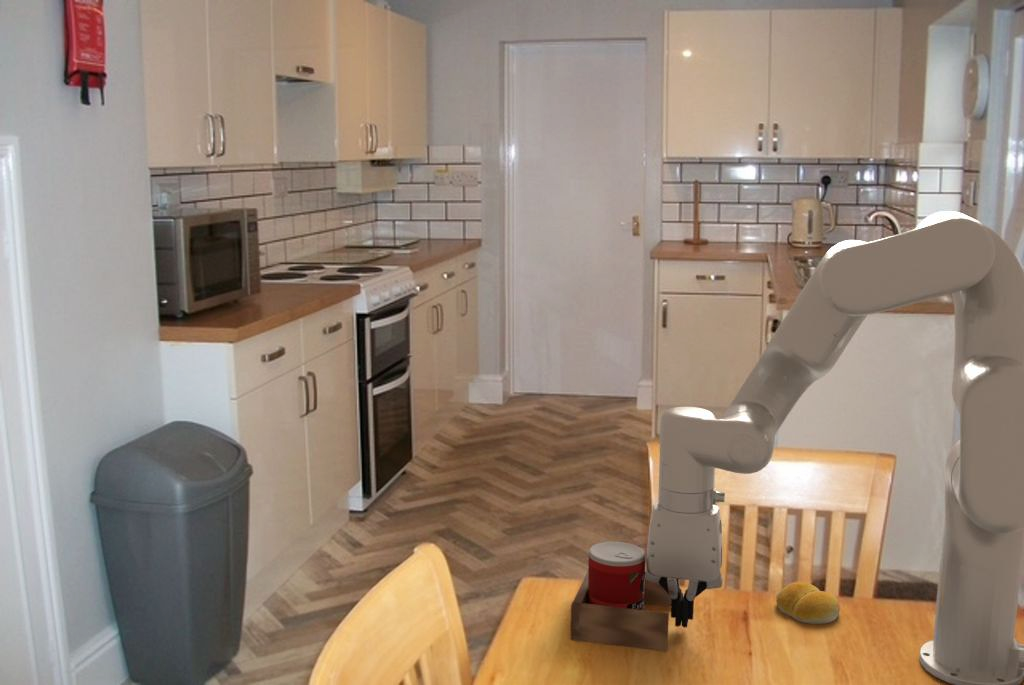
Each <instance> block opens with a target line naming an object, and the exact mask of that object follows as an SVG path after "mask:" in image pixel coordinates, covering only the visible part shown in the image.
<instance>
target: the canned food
mask: <svg viewBox="0 0 1024 685" xmlns="http://www.w3.org/2000/svg"><path fill="white" fill-rule="evenodd" d="M588 550H589V552H588V566H587V567H588V569H587V572H588V604H593V605H602V606H611V607H619V608H628V609H637V610H644V609H645V603H644V585H645V578H644V576H645V569H646V553H645V550H644V549H643V548H642V547H641V546H640V547H639V546H638V545H636V544H633V543H628V542H625V541H624V542H623V541H603V542H599V543H596V544H594V545H592V546H591V547H590V548H589V549H588Z"/></svg>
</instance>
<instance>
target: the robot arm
mask: <svg viewBox="0 0 1024 685" xmlns="http://www.w3.org/2000/svg"><path fill="white" fill-rule="evenodd" d="M947 295H951V297H952V301H953V307H954V308H953V309H954V332H955V333H954V354H953V357H954V358H953V361H954V362H953V374H952V385H951V395H952V400H953V402H954V405H955V408H956V410H957V411H958V413H959V440H958V441H957V442H955V444H954V445H953V446H952V447H951V449H950V451H949V453H948V455H947V458H946V461H945V466H944V475H943V476H944V478H943V523H942V535H941V545H940V547H941V548H940V555H939V556H940V557H939V558H940V559H939V567H938V568H939V569H938V581H937V590H936V592H937V593H936V605H935V613H934V614H935V615H934V616H935V617H934V629H933V639H931V640H930V641H927V642H925V643H924V644H923V645H921V647H920V649H919V655H918V658H919V662H920V664H921V666H922V667H923V668H924V669H925V671H927V672H928V673H929V674H931V675H932V676H934V677H936V678H938V680H941V681H943V682H945V683H948V684H951V685H1020V684H1021V683H1023V681H1024V643H1019V641H1017V640H1016V638H1015V632H1016V622H1017V612H1018V604H1019V593H1020V581H1021V573H1022V572H1021V571H1022V563H1023V556H1024V270H1023V268H1022V266H1021V263H1020V262H1019V259H1018V258H1017V256H1016V255H1015V253H1014V251H1013V250H1012V249H1011V247H1009V245H1008V243H1006V241H1005V240H1004V239H1003V238H1002V237H1001V236H1000V235H999V234H998V233H997V232H995V231H994V230H992V229H991V228H990V227H988V226H987V225H985V224H984V223H982V222H980V221H979V220H976V219H975V218H973V217H971V216H968V215H966V214H964V213H962V212H958V211H953V210H949V211H947V210H944V211H938V212H935V213H933V214H930V215H929V216H927V217H925V218H924V219H923V220H922V221H920V223H919V224H918V225H917V226H916V227H915V228H914V229H911V230H909V231H905V232H902V233H897V234H894V235H892V236H887V237H885V238H881V239H880V238H879V239H876V240H873V241H869V242H866V241H863V240H857V239H848V240H843V241H841V242H838V243H837V244H835V245H834V246H831V248H829V249H828V251H827V252H826V253H825V255H824V256H822V258H821V260H820V261H819V263H818V265H817V266H816V267H815V269H814V271H813V273H812V274H811V275H810V277H809V279H808V280H807V282H806V284H805V285H804V287H803V288H802V290H801V291H800V292H799V295H798V296H797V298H796V299H795V301H794V302H793V304H792V305H791V307H790V309H789V310H788V311H787V314H786V315H784V316H785V317H784V318H783V319H782V321H781V322H780V324H779V326H778V327H777V329H776V330H775V332H774V333H773V335H772V337H771V338H770V340H769V341H768V343H767V345H766V346H765V349H764V351H763V353H762V354H761V356H760V358H759V359H758V361H757V362H756V364H755V365H754V367H753V368H752V370H751V371H750V373H749V375H748V376H747V377H746V379H745V381H744V382H743V384H742V386H740V388H739V390H738V392H737V393H736V395H735V396H734V398H733V400H732V401H731V403H730V404H729V405H728V406H727V407H728V408H727V409H726V410H725V412H724V414H723V416H722V418H716V416H715V414H714V413H712V412H711V411H710V410H708V409H705V408H701V407H697V406H696V407H695V406H675V407H671V408H669V409H667V410H666V411H663V413H662V415H661V418H660V424H659V425H660V431H659V456H658V458H659V460H658V461H659V467H658V491H657V493H658V496H657V498H658V499H657V500H655V501H654V502H653V505H652V509H651V514H650V519H649V526H648V527H649V528H648V535H647V543H646V544H647V545H646V546H647V547H646V560H645V566H646V568H645V569H646V573H645V576H644V578H645V579H646V580H648V581H650V582H653V583H656V584H657V583H658V584H660V585H661V586H662V587H663V588H664V590H665V591H666V592H667V593H668V594H669V597H670V598H671V606H670V617H671V618H674V621H675V624H674V627H683V628H688V623H689V620H692V621H693V620H694V613H695V612H694V611H695V608H694V606H695V599H696V598H697V597H698V596H699V595H701V594H702V593H703V592H704V591H705V590H707V589H708V590H712V589H713V590H714V589H720V588H722V587H723V582H724V581H723V575H722V572H721V569H722V565H723V526H722V517H721V512H720V506H718V505H716V504H719V503H725V501H726V500H725V499H726V498H725V497H726V493H725V492H720V491H719V490H717V488H716V484H715V483H716V482H715V481H716V480H715V478H716V477H715V476H716V469H718V470H723V471H726V472H730V473H734V474H739V475H740V474H742V475H750V474H755V473H758V472H760V471H762V470H763V469H764V468H766V467H767V466H768V464H769V463H770V461H771V459H772V458H773V454H774V448H775V441H776V440H775V439H776V435H777V434H778V431H779V430H780V428H781V427H782V426H783V424H784V422H785V421H786V419H787V418H788V416H789V414H790V413H791V412H792V410H793V408H794V407H795V406H796V404H797V402H798V401H799V400H800V398H801V397H802V396H803V395H804V393H805V392H806V391H807V390H808V389H809V387H810V386H812V385H813V384H814V383H815V382H817V381H819V380H820V379H822V378H824V377H825V376H826V375H828V373H829V372H830V371H831V370H832V369H833V368H834V366H835V365H836V363H837V362H838V360H839V359H840V357H841V355H842V354H843V353H844V351H845V349H846V348H847V346H848V345H849V343H850V341H851V340H852V339H853V337H854V335H855V334H856V332H857V331H858V329H859V328H860V327H861V325H862V324H863V322H864V321H865V319H866V318H867V316H869V315H874V314H879V313H884V312H887V311H891V310H894V309H900V308H903V307H907V306H910V305H915V304H918V303H922V302H924V301H928V300H933V299H937V298H940V297H944V296H947ZM680 580H687V581H688V586H687V588H686V589H685V591H684V593H683V591H682V589H681V587H680Z"/></svg>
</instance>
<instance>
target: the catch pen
mask: <svg viewBox="0 0 1024 685" xmlns="http://www.w3.org/2000/svg"><path fill="white" fill-rule="evenodd" d="M646 569H647V568H645V573H646ZM647 604H648V605H654V606H655V605H656V606H663V607H671V598H670V597H669V594H668V593H667V592H666V591H665V590H664V588H663V587H662V586H661V585H660V584H658V583H657V584H656V583H653V582H650V581H648V580H646V579H645V585H644V605H647ZM669 614H670V613H669V612H662V611H653V610H637V609H628V608H619V607H611V606H602V605H593V604H588V571H587V572H586V574H585V576H584V578H583V580H582V582H581V585H580V587H578V590H577V593H576V595H575V597H574V599H573V601H572V603H571V606H570V640H572V641H576V642H577V641H578V642H579V641H580V642H585V643H586V642H587V643H594V644H603V645H611V646H619V647H620V646H621V647H626V648H627V647H629V648H635V649H643V650H653V651H659V652H668V647H669V646H668V644H669V643H668V642H669Z"/></svg>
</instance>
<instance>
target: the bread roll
mask: <svg viewBox="0 0 1024 685" xmlns="http://www.w3.org/2000/svg"><path fill="white" fill-rule="evenodd" d="M775 600H776V605H777V607H778V609H779V611H780V612H782V613H783V614H784V615H785V616H788V617H791V618H793V619H794V620H796V621H798V622H800V623H803V624H809V625H810V624H811V625H812V624H813V625H814V624H815V625H816V624H817V625H818V624H819V625H820V624H821V625H822V624H829V623H830V624H831V623H833V622H834V621H836V620H837V618H838V617H839V614H840V610H841V608H840V602H839V600H838V598H837V597H836V596H834V594H833V593H831V592H827V591H824V590H823V591H821V590H820V589H819V588H818V587H816V586H815V585H813V584H811V583H810V582H808V581H807V582H806V581H793V582H791V583H789V584H787V585H786V586H785V587H783V588H782V589H780V590H779V591H778V592H777V594H776V598H775Z"/></svg>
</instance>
